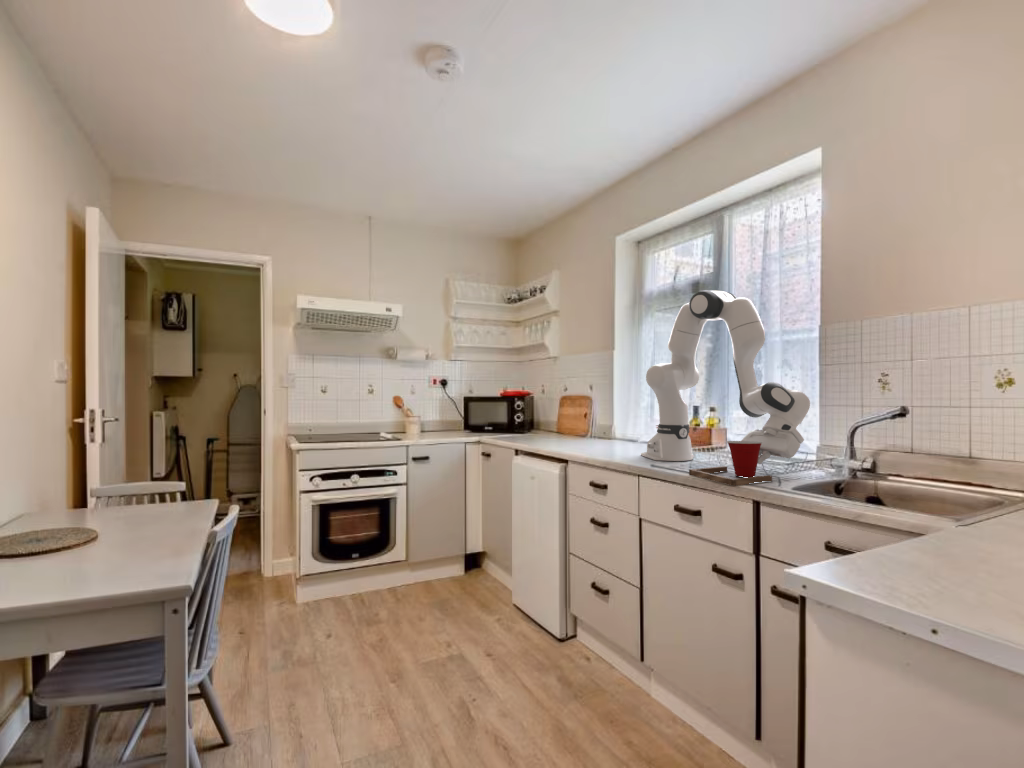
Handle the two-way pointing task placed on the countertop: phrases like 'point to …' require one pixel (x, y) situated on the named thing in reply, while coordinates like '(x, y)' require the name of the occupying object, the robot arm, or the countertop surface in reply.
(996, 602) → the countertop surface
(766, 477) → the tray
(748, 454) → the plastic cup
